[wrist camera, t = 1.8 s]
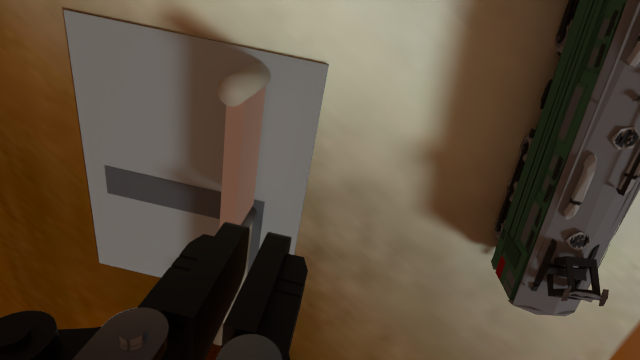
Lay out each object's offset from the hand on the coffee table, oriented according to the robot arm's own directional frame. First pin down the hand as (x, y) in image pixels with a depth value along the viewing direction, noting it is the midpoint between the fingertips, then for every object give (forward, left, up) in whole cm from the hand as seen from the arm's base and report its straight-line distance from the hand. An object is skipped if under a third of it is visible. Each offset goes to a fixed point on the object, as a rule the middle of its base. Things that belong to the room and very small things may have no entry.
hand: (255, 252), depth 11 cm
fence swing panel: (+4, -6, -18) cm, 19 cm away
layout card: (+10, -11, -19) cm, 24 cm away
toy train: (-4, +17, -20) cm, 26 cm away
